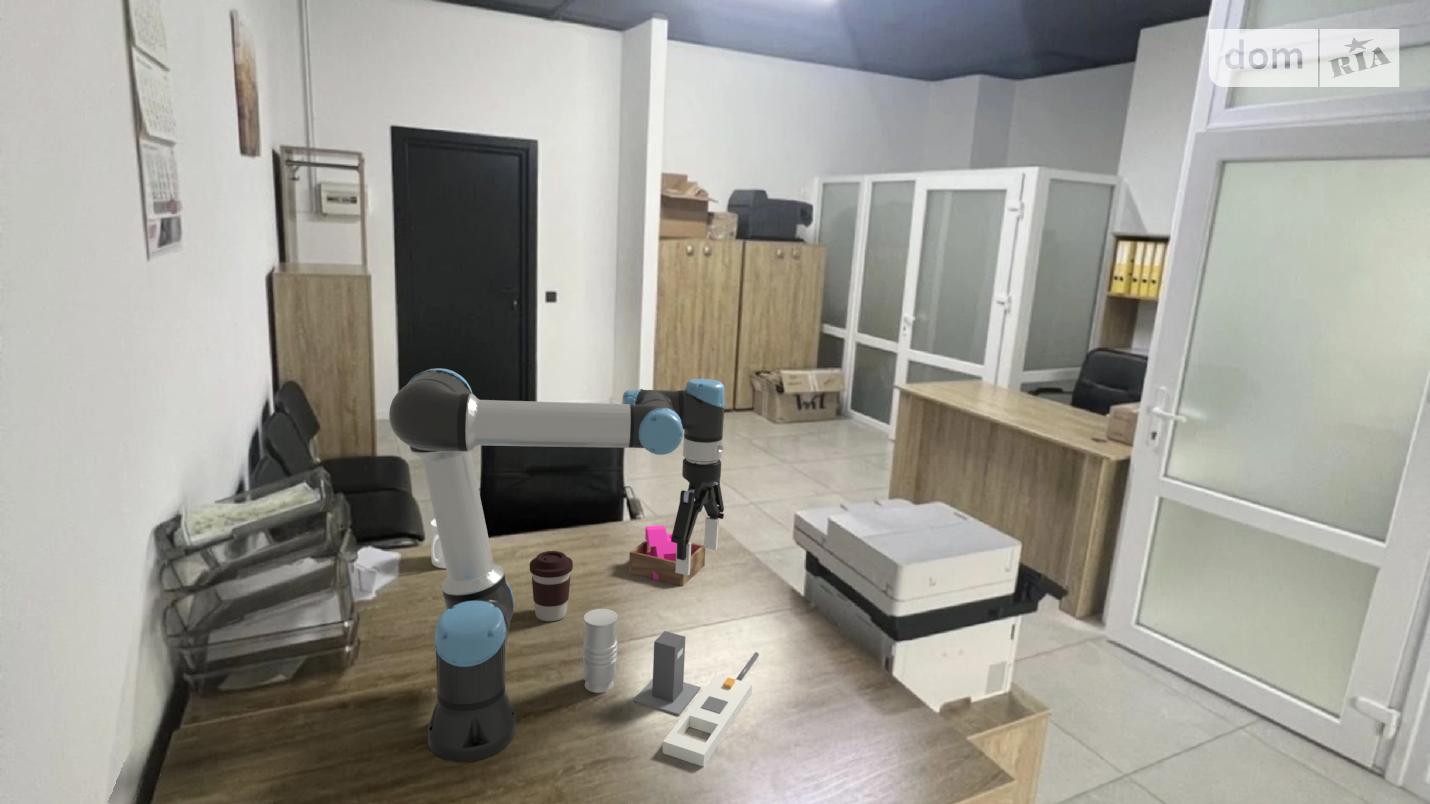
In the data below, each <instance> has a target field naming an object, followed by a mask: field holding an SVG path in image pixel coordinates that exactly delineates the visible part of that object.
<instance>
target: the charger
mask: <svg viewBox="0 0 1430 804" xmlns="http://www.w3.org/2000/svg"><path fill="white" fill-rule="evenodd" d="M653 642H654V643H653V662H652V663H653V664H652V665H653V667H652V679H653V687H652V696H653V697H656V698H659V699H663V700H666V701H669V702H672V703H673V702H674V701H675V700H676V698H677V697H678V696H679V695H680V693H681V692H682V691H683V682H684V680H685V679H684V677H685V676H684V675H685V654H686V652H685V651H686V636H684V635H680V634H678V633H674V632H669V631H666V630H664V631H662V633H661V634H660V635H659V636H658V637H657V638H656V639H655V640H654V641H653Z"/></svg>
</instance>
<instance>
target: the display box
mask: <svg viewBox="0 0 1430 804" xmlns="http://www.w3.org/2000/svg"><path fill="white" fill-rule="evenodd" d="M647 552H651V547H650V546H649V544H648V542H647V541H646V540H644V541H643V542H642V543H640V544H638V545H637V546H636V547H635V548H633V549H632V550H630V551H629V561H628V562H629V563H628V564H629V565H628V573H629V574H632V575H637V576H640V577H645V578H649V579H652V580H654V579H653V571H654V572H655V573H656V574H657V575H658V576H659V579H658V580H657V581H662V582H664V583H670V584H673V585H677V586H681V587H683V586H685V585H686V584H687V583H688V582H689V581H690V580H691V579H692V578H693V577H695V575H696V574H698V572H700V571H701V569H703V568H704V567H705V564H706V563H705V560H706V558H705V557H706V548H704V544H700V543H694V542H691V559H690V574H689V575H683V574H679V573H675V571H676V561H672V560H667V559H663V558H659V557H654V556H650V555H646V553H647Z"/></svg>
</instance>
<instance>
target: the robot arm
mask: <svg viewBox="0 0 1430 804" xmlns="http://www.w3.org/2000/svg"><path fill="white" fill-rule="evenodd" d="M725 389H726V388H725V385H724V384H723V383H722V382H721V381H719V380H716V379H713V378H691V379H689V380H688V381H686V385H685V388H684V389H681V390H672V389H671V390H667V389H664V390H663V389H661V390H660V389H643V388H640V389H628V390H625V391H624V392H623V394H622V401H621V402H622V403H601V402H600V403H599V402H598V403H597V402H596V403H594V402H593V403H592V402H561V401H535V400H534V401H532V400H531V401H528V400H527V401H526V400H525V401H524V400H499V399H498V400H495V399H491V400H490V399H479V398H477V396H476V395H475V394H474V393H473V391H472V388H471V386H470V385H469V382H467V380H466V378H464V377H463V376H462V375H460V374H458V372H455V371H454V370H450V369H447V368H441V367H440V368H436V367H435V368H430V369H427V370H424V371H421V372H419V373H417V374H415V375H414V376H413V377H411V378H410V379H409V381H408V383H407V384H406V385H405V386H403V387H402V388H401V389H400V390H399V391H398V392H397V393H396V394H395V395H394V397H393V399H392V400H391V403H390V405H389V412H388V414H389V415H388V417H389V423H390V427H391V429H392V431H393V432H394V434H395V436H397V438H398V439H399V440H400V441H401V442H402V443H404V444H405V445H407V446H409V449H410V452H411V453H412V454H414V455H416V456H417V457H419V458H420V459H421V461H422V465H423V466H422V467H423V471H424V475H425V479H426V485H427V487H428V492H429V493H428V494H429V497H430V502H431V506H432V509H433V511H432V512H433V515H434V519H435V520H436V525H437V529H438V534H439V538H440V543H441V547H442V552H443V556H444V561H445V565H446V574H447V576H446V577H445V579H444V580H443V581H442V584H441V591H442V596H443V599H444V604H445V609H446V610H445V611H443V613H442V614H441V615H440V616H439V618H438V620H437V622H436V625H435V631H434V638H433V641H434V648H435V668H436V669H435V670H436V694H437V695H436V697H437V698H436V702H435V705H434V708H433V712H432V714H431V718H430V721H429V722H428V727H427V744H428V748H429V749H430V751H432V752H433V754H435V755H436V756H437V757H439V758H441V759H444V760H447V761H452V762H473V761H478V760H482V759H485V758H489V757H491V756H493V755H495V754H496V753H499V752H500V751H502V750H503V749H504V748H505V747H507V746H509V744H510V743H511V741H512V740H513V738H514V737H515V734H516V726H517V725H516V714H515V712H514V710H513V708H512V706H511V702H510V699H509V697H508V694H507V691H506V651H507V649H506V647H507V643H508V639H509V638H508V637H509V632H510V625H511V621H512V616H513V613H514V608H515V601H514V600H515V599H514V595H513V592H512V588H511V586H510V584H509V583H508V581H506V576H505V571H504V569H503V567H501V566H500V565H498V564H496V563H495V562H494V558H493V553H492V549H491V544H490V539H489V535H488V529H487V524H486V519H485V514H484V509H483V505H482V504H483V503H482V500H481V495H480V490H479V489H480V488H479V486H478V480H477V474H476V470H475V469H476V468H475V465H474V460H473V455H472V451H473V450H474V449H475V448H476V447H478V446H498V447H499V446H502V447H504V446H505V447H553V448H554V447H559V448H561V447H564V448H569V447H571V448H621V449H622V448H624V449H625V448H626V449H629V448H630V449H645V450H646V451H648V452H649V453H650V454H653V455H657V456H660V455H661V456H662V455H668V454H671V453H672V452H674V451H675V450H676V449H677V448H679V446H680V445H681V443H682V441H683V443H682V444H683V447H682V448H683V449H682V456H683V460H682V472H681V475H682V478H683V479H684V480H686V481H687V482H688V489H687V490H682V489H681V491H680V495H679V504H678V507H677V513H676V515H675V516H676V517H675V521H674V525H673V530H672V537H671V542H673V543H677V548H676V571H675V573H679V574H683V575H689V574H690V559H691V543H692V542H690V539H691V537H692V534H693V531H694V528H695V525H696V522H697V518H698V517H699V516H698V515H699V513H701V512H702V511H703V509H704V510H705V512H706V515H707V516H706V517H705V520H704V521H705V522H704V523H705V524H704V537H703V538H704V541H703V545H704V548H705V549H709V550H713V551H717V550H718V544H719V543H718V541H719V525H720V524H719V523H720V520H724V518H725V517H724V516H725V514H724V511H725V507H724V501H723V494H722V489H721V475H722V461H721V460H720V459H721V458H722V454H723V453H722V451H723V450H724V449H725V446H724V445H723V437H724V436H723V434H724V420H725V419H724V418H725V408H726V402H725V401H726V398H725V397H726V396H725V395H726V393H725Z"/></svg>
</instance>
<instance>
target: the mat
mask: <svg viewBox="0 0 1430 804" xmlns="http://www.w3.org/2000/svg"><path fill="white" fill-rule="evenodd" d="M652 687H653V678H652V679H651V680H650V681H649V682H648V683H647V684H646V686H644V688H643V689H642V690H640V692H639V693H638V694H637V695H636V696H635V698H634V699H633V702H634V703H637V704H640V705H643V706H646V707H650V708H653V709H656V710H659V711H663V712H666V713H669V714H672V715H676V716H679V717H680V716H681V714H682V713H683V712H684V710H685V709H686V708H687V707H688V705H689V704H691V702H692V701H693V699H694V698H695V697H696V695H697V694H698V693H699V692H700V690H701V686H698V685H696V684H695V685H694V684H691V683H688V682H684V681H683V691H682V692H681V693H680V695H679V696H678V697H677V698H676V700H675V701H674V702H673V703H672V702H669V701H666V700H663V699H659V698H656V697H653V696H652Z"/></svg>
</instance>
